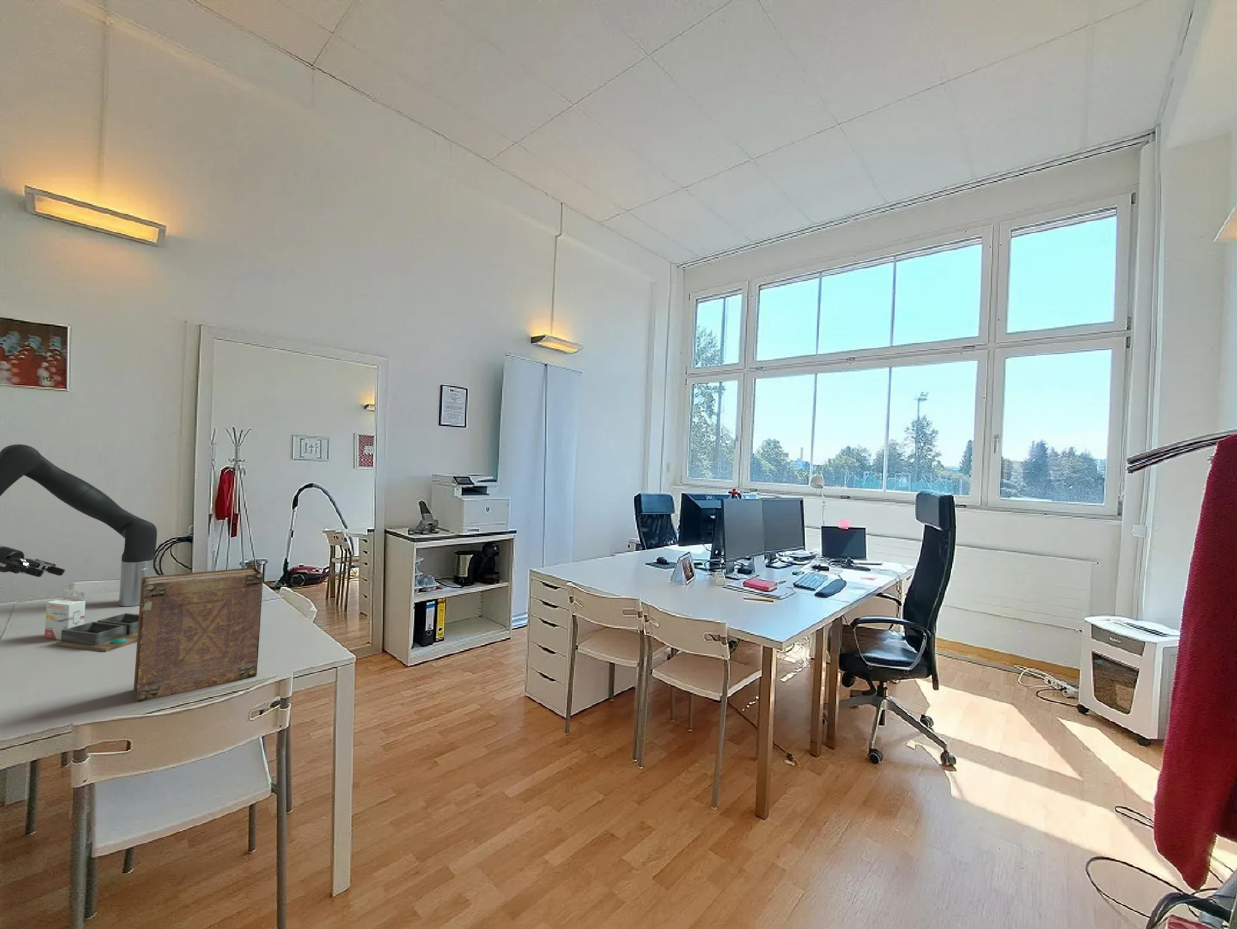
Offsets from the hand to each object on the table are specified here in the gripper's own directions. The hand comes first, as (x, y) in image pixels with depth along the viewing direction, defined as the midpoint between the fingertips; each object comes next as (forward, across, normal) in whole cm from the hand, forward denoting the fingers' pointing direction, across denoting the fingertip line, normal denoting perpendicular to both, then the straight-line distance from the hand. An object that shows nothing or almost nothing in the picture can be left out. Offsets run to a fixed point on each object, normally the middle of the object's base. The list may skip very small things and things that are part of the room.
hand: (52, 573), depth 165 cm
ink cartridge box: (+14, -2, +17) cm, 22 cm away
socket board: (+28, -4, +12) cm, 31 cm away
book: (+69, -42, +6) cm, 81 cm away
